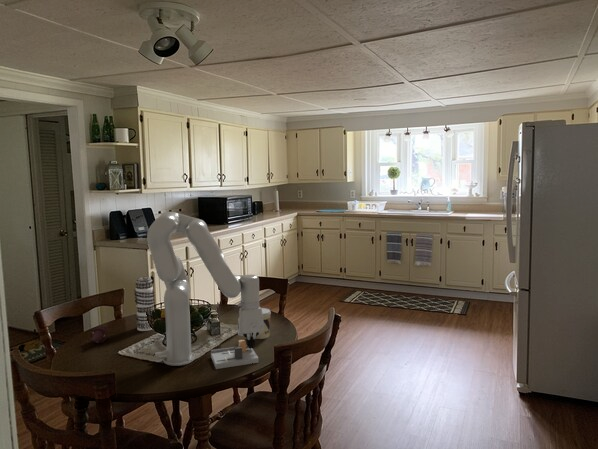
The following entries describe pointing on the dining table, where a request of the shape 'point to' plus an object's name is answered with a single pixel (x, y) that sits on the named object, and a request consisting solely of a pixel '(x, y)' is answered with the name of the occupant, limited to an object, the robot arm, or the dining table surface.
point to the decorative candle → (143, 302)
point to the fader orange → (242, 345)
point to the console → (232, 357)
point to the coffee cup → (265, 324)
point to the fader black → (238, 352)
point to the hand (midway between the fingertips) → (250, 347)
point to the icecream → (99, 335)
